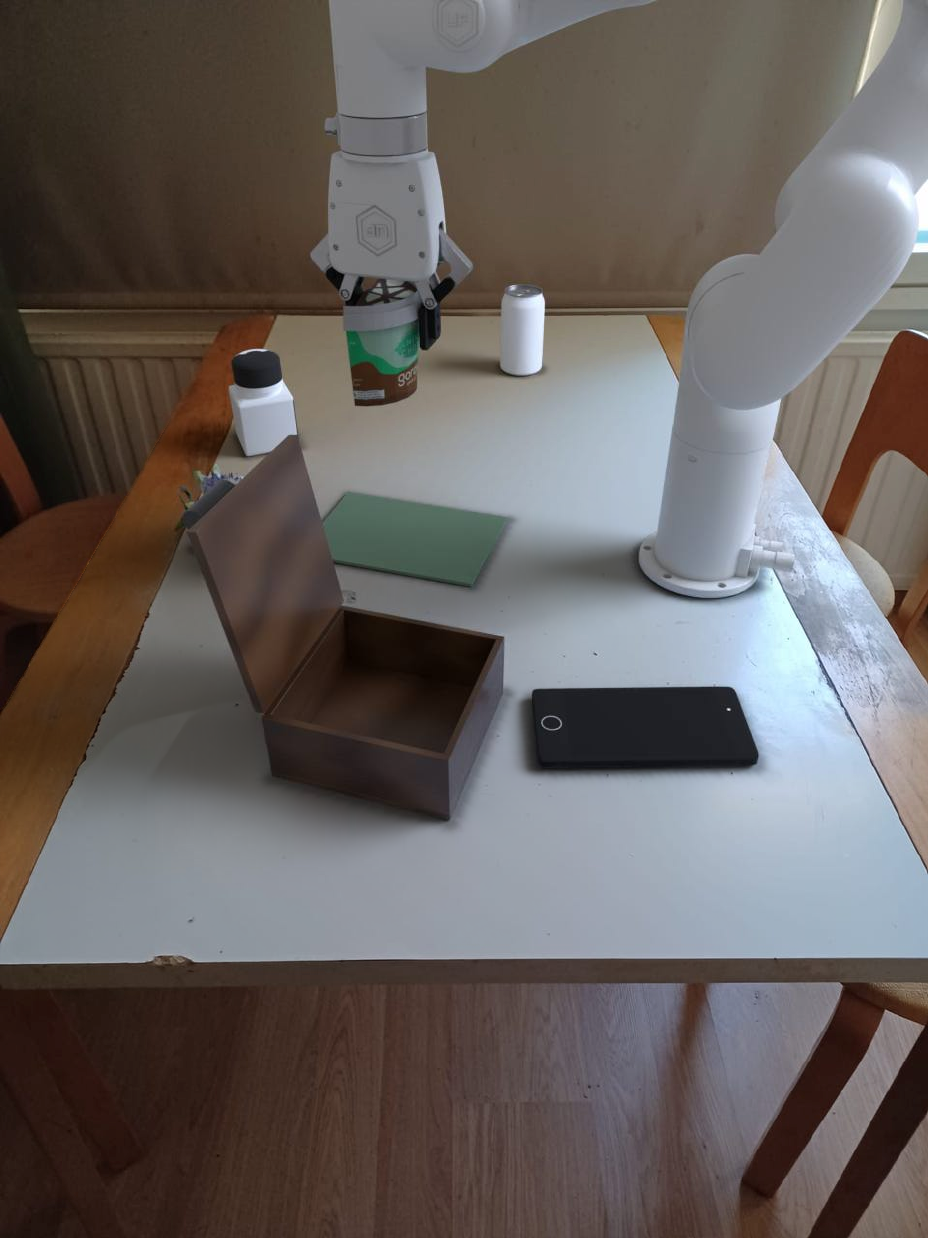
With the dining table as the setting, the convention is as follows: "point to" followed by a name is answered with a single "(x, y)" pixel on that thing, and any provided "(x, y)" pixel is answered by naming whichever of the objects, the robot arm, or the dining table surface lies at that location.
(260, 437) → the medicine bottle
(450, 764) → the chest
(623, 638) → the dining table surface
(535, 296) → the can
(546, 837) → the dining table surface
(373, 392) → the food container
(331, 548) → the mat
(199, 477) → the passion flower
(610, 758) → the cell phone
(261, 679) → the lid
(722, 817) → the dining table surface
